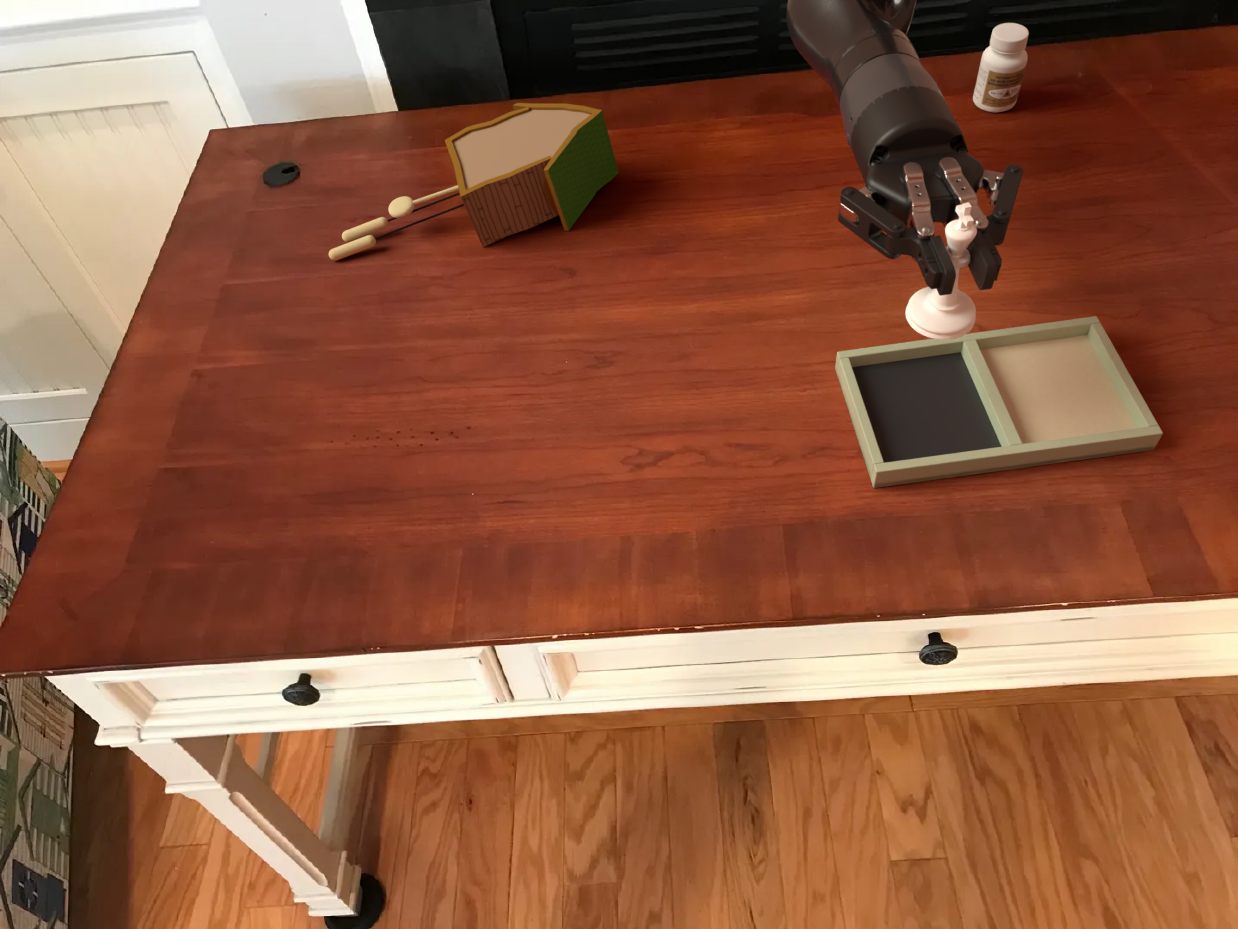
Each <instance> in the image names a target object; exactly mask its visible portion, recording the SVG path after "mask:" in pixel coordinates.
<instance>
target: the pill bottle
mask: <svg viewBox="0 0 1238 929" xmlns="http://www.w3.org/2000/svg"><path fill="white" fill-rule="evenodd" d="M1029 34H1030V32H1029V30H1028V28H1027V27H1026V26H1024V25H1022V24H1020V23H1016V22H1004V23H1000V24H998V25H996V26H995V27H993V29H992V32H991V35H990V39H989V46H988V47H986V48H985V50H983V52H982V55H981V59H980V63H979V68H978V72H977V77H976V81H975V86H974V90H973V96H972V101H973V103H974V105H975V106H976V107H977V108H979V109H980V110H982V111H985V112H988V113H1003V112H1006V111H1009V110H1011V109H1013V108H1014V106H1016V104H1017V101H1018V97H1019V94H1020V90H1021V87H1022V83H1023V79H1024V75H1025V71H1026V69H1027V68H1026V67H1027V64H1028V58H1029V56H1028V53H1027V51H1026V48H1027V44H1028V39H1029Z"/></svg>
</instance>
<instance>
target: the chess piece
mask: <svg viewBox="0 0 1238 929" xmlns="http://www.w3.org/2000/svg"><path fill="white" fill-rule="evenodd" d="M971 207H972V206H971V205H970V203H964V204H962V205H957V206H956V210H955V211H956V213H957V214H958V216H959V219H958V220H953V221H951V222H949V223H948V224H947V226H946V228H945V227H944V234H945V238H946V244H947V245H945V247H946V250H947V252H948V254H949V256H950V259H951V261H952V263H953V265H954V267H955V271H956V278H955V282H954V286H953V290H952V294H949V295H942V296H940V295H939V294H938V291H937V289H931V288H930V287H929V286H926V287H923V288H921V289H919V290H917V291H916V292H914V294H912V295H911V297H910V298H909V300H908V302H907V305H906V307H905V319H906V321H907V323H908V324H909V326H910V327H911V328H912V329H913V330H914V331H915V332H917V333H918V334H919V335H921V336H924V337H926V338H928V339H939V340H949V339H955V338H958V337H961V336H963V335H965V334H969V333H970V331H971V330H972V329H973V328H974V326H975V324H976V320H977V306H976V304H975V303H974V300H973V299H972V298H971V297H970V295H968V294H966V293H965V292H964V291H962V290H960V289H959V276H960V270H961V269H963V268H965V267H968V264H969V263H970V261H971V259H970V253H969V251H968V250H967V249H966V248H967V247H968V245H969V244H970V242H971V241H972V240H973V239H974V238H975V236H976V234H977V229H976V226H975V225H974V224H973V222H974V220H973V218H972V217H971V215H970V211H971Z"/></svg>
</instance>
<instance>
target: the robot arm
mask: <svg viewBox="0 0 1238 929" xmlns="http://www.w3.org/2000/svg"><path fill="white" fill-rule="evenodd" d="M917 1H918V0H787V4H786V12H785V13H786V16H785V17H786V25H787V30H788V33H789V36H790V39H791V41H792V43H793V45H794V47H795V48H796V50H797V52H798V53H799V54H800V55H801V56H802V57H803V59H804V61H806V62H807V63H808V65H809V66H810V67H811V68H812V70H813V71H814V72H815V73H816V74H817V76H818V77H819V78H821V79H822V80H823V81H824V82H825V83H826V84H827V85H828V86H829V87H830V89H831V92H832V94H833V98H834V100H835V102H836V105H837V108H838V110H839V112H840V115H841V120H842V126H843V130H844V133H845V138H846V142H847V145H848V146H849V148H850V149H851V151H852V154H853V156H854V159H855V162H856V163H857V166H858V169H859V172H860V175H861V177H862V179H863V181H864V184H865V186H863V187H861V188H859V189H858V188H856V187H854V186H846V187H844V188H843V187H842V189H841V191H840V195H839V196H840V198H839V206H838V207H839V208H838V215H837V221H838V222H839V223H840V224H841V225H842V226H844V227H845V228H847V229H848V230H849V231H850V232H852V233H853V234H854V235H856V236H857V237H859V238H860V239H861V240H863V241H864V242H866V243H867V244H868V245H869V246H871V248H873V249H874V250H876V251H877V252H879V253H880V254H881V255H883V256H884V257H885V258H887V259H889V260H897V259H899V258H900V257H901V256H902V255H903V256H909V257H911V259H912V260H913V261H915V262H916V263H917V265H918V267H919V270H920V272H921V275H922V277H923V280H924V282H925V285H926V286H927V287H930V288H931V289H937V291H938V294H939V295H940V296H942V295H949V294H952V290H953V286H954V282H955V278H956V271H955V267H954V265H953V263H952V261H951V259H950V256H949V254H948V252H947V250H946V245H945V243H944V241H943V238H942V237H941V235H935V233H936V227H935V223H941V224H942V226H943V227H944V229H945V228H946V226H947V224H948V223H949V222H951V221H953V220H958V219H959V216H958V214H957V213H956V211H955V210H956V206H957V205H962V204H964V203H970V205H971V206H972V207H971V211H970V215H971V217H972V218H973V220H974V222H973V224H974V225H975V226H976V229H977V234H976V236H975V238H974V239H973V240H972V241H971V242H970V244H969V245H968V247H967V248H966V249H967V250H968V251H969V253H970V259H971V261H970V263H969V264H968V265H967V267H968V269H969V271H970V273H971V276H972V278H973V281H974V282H975V284H976V287H977V288H978V290H979V291H985V290H992V289H993V286H994V282H997V281H998V278H999V274H1000V270H1001V267H1002V262H1003V259H1002V257H1001V254H1000V253H999V251H998V249H997V246H1000V245H1002V244H1003V243H1004V242H1005V238H1006V234H1007V231H1008V227H1009V223H1010V221H1011V217H1012V214H1013V210H1014V206H1015V203H1016V199H1017V195H1018V193H1019V188H1020V185H1021V181H1022V178H1023V174H1024V168H1023V167H1022V166H1020V165H1018V164H1009V165H1007V166H1006V167H1005V170H1004V172H999V171H994V170H988V169H985V168H984V165H983V163H982V162H981V161H980V160H979V159H977V158H976V157H974V156H973V155H972V154H970V152H969V150H968V145H967V142H966V138H965V136H964V134H963V132H962V130H961V127H960V126H959V124H958V121H957V119H956V118H955V116H954V114H953V112H952V110H951V109H950V106H949V105H948V102H947V101H946V98H945V97H944V95H943V93H942V91H941V89H940V87H939V85H938V84H937V82H936V80H935V79H934V78H933V76H932V75H931V74H930V72H928V70H927V69H926V68H925V67H924V64H923V63H922V60H921V59H920V56H919V54H918V52H917V50H916V48H915V46H914V45H913V43H912V42H911V40H910V39H909V37H908V36H907V35H908V33H909V30H910V27H911V24H912V21H913V17H914V14H915V9H916V5H917ZM979 189H982V190H984V191H985V193H986V195H985V196H986V198H987V199H988V200H989V203H988V204H989V205H990V206H992V207H993V211H992V213H991V214H988V215H985V213H984V212H983V211H982V209H981V208H980V206H979V203H978V202H979V199H978V195H977V192H978V191H979Z"/></svg>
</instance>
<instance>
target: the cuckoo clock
mask: <svg viewBox="0 0 1238 929" xmlns="http://www.w3.org/2000/svg"><path fill="white" fill-rule="evenodd" d="M512 108H513V110H512V111H509V112H506V113H504V114H502V115H500V116H498V117H495V118H493V119H491V120H489V121H483V122H479V123H476V124H473V125H469V126H466V127H465V128H463V129H461V130H459V131H458V132H456V133H454V134H453V135H451V136H449V137H447V138H446V139H444V142H445V146H446V148H447V152H448V154H449V157H450V160H451V162H452V165H453V169H454V173H455V179H456V183H457V184H456V185H454V186H452V187H449V188H446V189H443V190H440V191H437V192H434V193H431V194H428V195H426V196H422V197H419V198H416V199H413V198H411V197H410V196H408V195H404V196H399V197H396V198H395V199H393V200H392V201H391V202H390V203H389V205H388V214H389V216H391V218H387V217H384V216H380V217H377V218H375V219H373V220H370V221H367V222H365V223H362V224H360V225H357V226H353V227H352V228H349V229H346V230H344V231H343V232H342V234H341V238H342V240H343V241H344V242H345V243H343V244H342V245H339V246H336V247H333V248H331V249H330V250H329V252H328V257H329V259H330V260H331V261H335V262H337V261H339V260H342V259H344V258H347V257H350V256H353V255H355V254H358V253H360V252H363V251H366V250H368V249H371V248H373V247H375V246H376V245H377V240H378V239H381V238H384V237H386V236H389V235H391V234H394V233H397V232H399V231H402V230H405V229H407V228H410V227H412V226H415V225H418V224H421V223H423V222H425V221H429V220H431V219H433V218H436V217H439V216H441V215H444V214H447V213H450V212H452V211H454V210H457V209H460V208H463V207H464V209H465V210H466V212H467V215H468V217H469V219H470V221H471V223H472V227H473V229H474V230H475V232H476V235H477V237H478V240H479V242H480V244H481V246H482V248H485V247H487V246H490V245H491V244H493V243H496V242H497V241H501V240H502V239H504V238H506V237H509V236H511V235H515V234H517V233H520V232H523V231H526V230H530V229H532V228H534V227H536V226H538V225H540V224H542V223H544V222H547V221H550V220H552V219H554V218H556V217H558V216H559V219H560V222H561V225H562V227H563V230H564V231H565V232H569V231H570V230H571V229H572V227H573V226H574V224H575V223H576V222H577V220H578V219H579V218H580V216H581V215H582V214H583V212H584V211H585V210H586V208H587V207H588V205H589V204H590V202H592V200H593V198H595V196H596V194H597V192H598V191H599V190H600V189H602V188H603V187H604V186H605V185H607V184H608V183H610V182H611V181H612V180H613V179H615V177H616V176H617V175H618V174H619V173H620V172H619V168H618V165H617V159H616V156H615V154H614V149H613V146H612V142H611V139H610V134H609V131H608V127H607V124H606V120H605V116H604V112H603V110H602V109H599V108H595V107H592V106H587V105H579V104H571V103H557V102H555V103H549V102H547V103H542V102H541V103H537V102H536V103H530V102H516V103H514V104H512ZM456 191H458V192H457V193H454V192H456ZM451 193H454V194H451ZM448 194H451V195H449V196H445V195H448ZM442 196H445V197H444V198H441V199H439V200H436V201H433V202H430V203H427V204H425V205H422V206H419V207H417V208H415V206H416V205H419V204H422V203H425V202H428V201H430V200H433V199H437V198H439V197H442ZM457 196H459V197H460V199H461V202H462V204H461V203H460V204H459V205H456V206H454V207H451V208H448V209H445V210H443V211H441V212H438V213H436V214H432V215H429V216H427V217H425V218H422V219H420V220H416V221H414V222H411V223H409V224H406V225H404V226H401V227H398V228H396V229H393V230H391V231H389V232H386V233H383V234H381V235H378V236H374V235H372V234H375V233H378V232H380V231H383V230H386V229H387V228H388V227H389V224H390V222H392V221H394V220H397V219H401V218H404V217H407V216H409V215H410V214H413V213H415V212H417V211H421V210H424V209H426V208H429V207H432V206H435V205H436V204H439V203H442V202H444V201H446V200H449V199H452V198H455V197H457Z"/></svg>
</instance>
